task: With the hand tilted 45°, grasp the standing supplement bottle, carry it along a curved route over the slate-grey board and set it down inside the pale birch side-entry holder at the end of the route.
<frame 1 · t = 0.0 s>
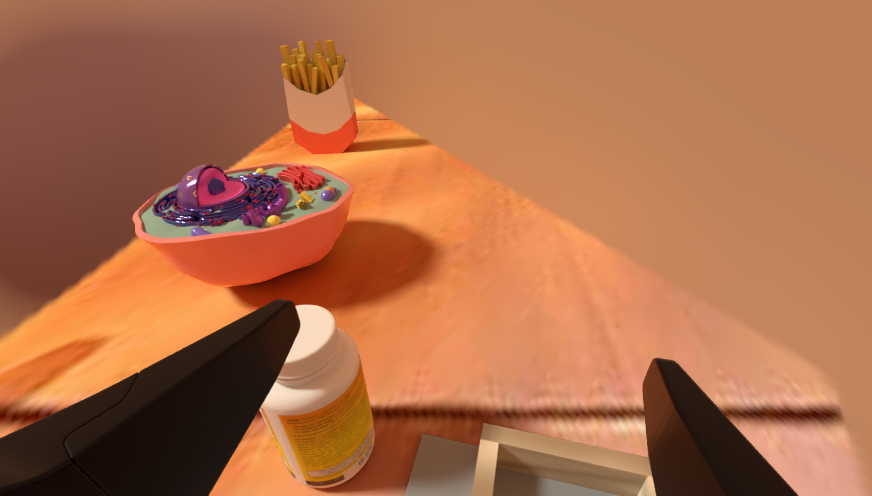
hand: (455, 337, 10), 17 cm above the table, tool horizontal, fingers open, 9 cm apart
cell model: (271, 265, 42), on the table
french fries container: (329, 150, 72), on the table
supplement bottle: (333, 447, 25), on the table
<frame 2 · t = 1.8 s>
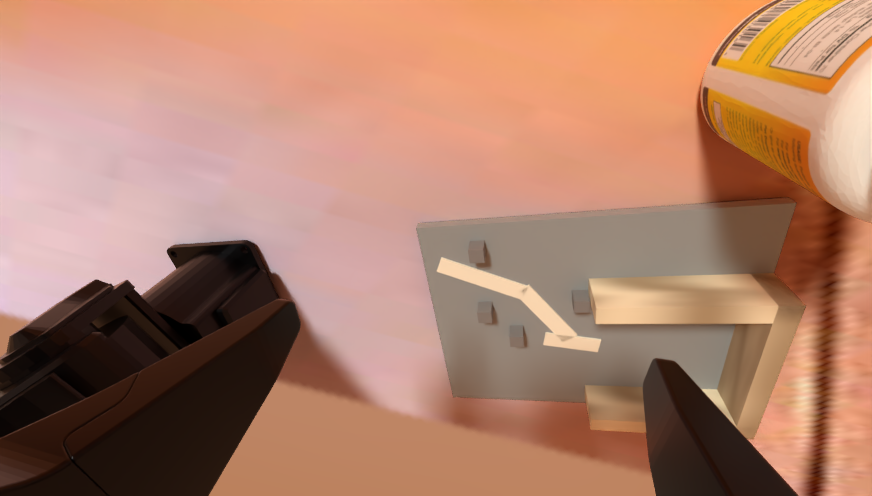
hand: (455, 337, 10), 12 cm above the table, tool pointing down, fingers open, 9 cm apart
end holder: (652, 336, 23), resting on route board
supplement bottle: (772, 71, 15), on the table
route board: (581, 317, 23), on the table
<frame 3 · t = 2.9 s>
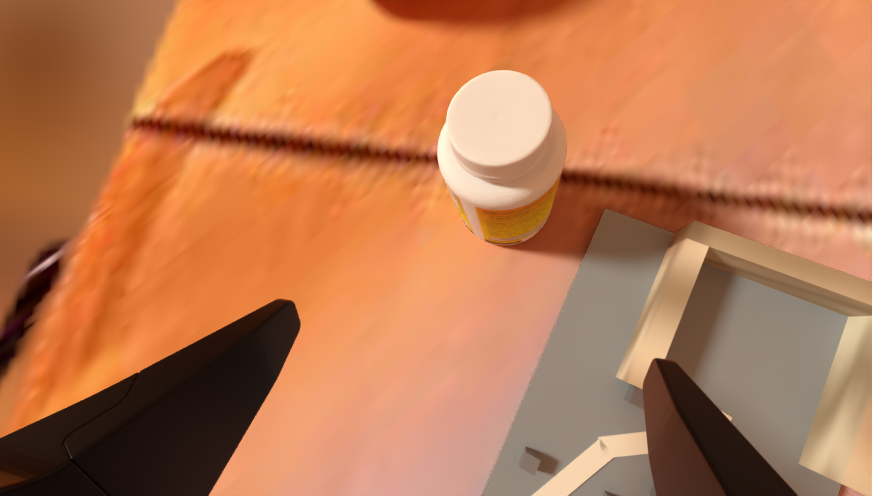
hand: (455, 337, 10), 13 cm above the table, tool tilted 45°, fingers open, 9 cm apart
end holder: (731, 351, 20), resting on route board
supplement bottle: (504, 205, 24), on the table
route board: (673, 410, 20), on the table
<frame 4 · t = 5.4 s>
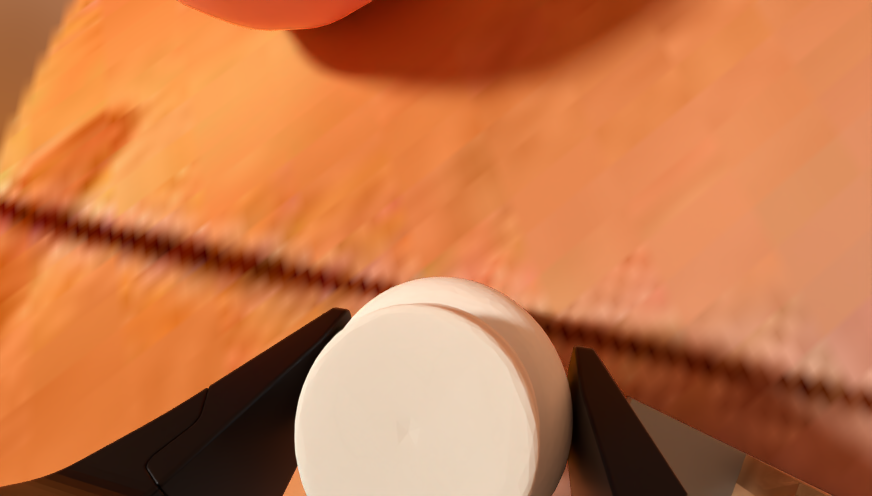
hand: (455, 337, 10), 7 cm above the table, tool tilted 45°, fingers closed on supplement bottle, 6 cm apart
supplement bottle: (475, 369, 16), on the table, touching gripper
when the fingers open (8 cm above the table, at t = 9.5 s): supplement bottle drops 1 cm, resting on route board.
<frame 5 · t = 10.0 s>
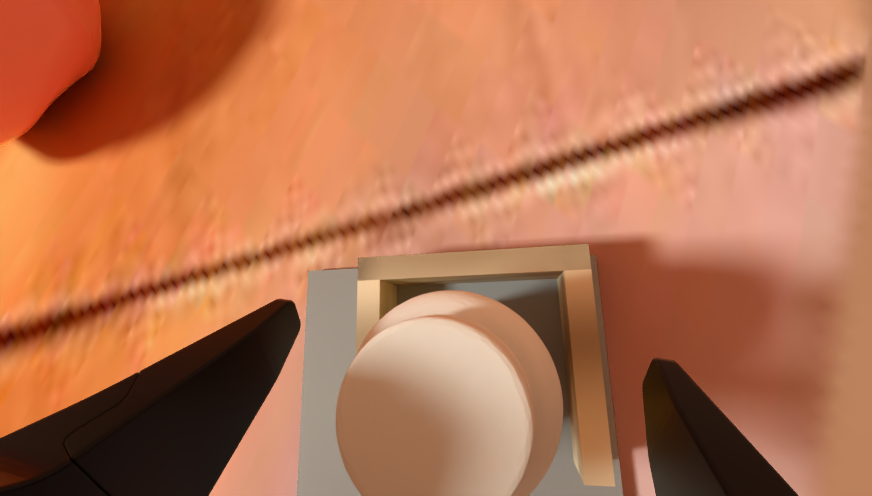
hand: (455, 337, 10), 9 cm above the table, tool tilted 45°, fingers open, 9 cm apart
cell model: (53, 80, 28), on the table
end holder: (478, 365, 18), resting on route board
supplement bottle: (478, 369, 17), resting on route board
route board: (449, 458, 17), on the table
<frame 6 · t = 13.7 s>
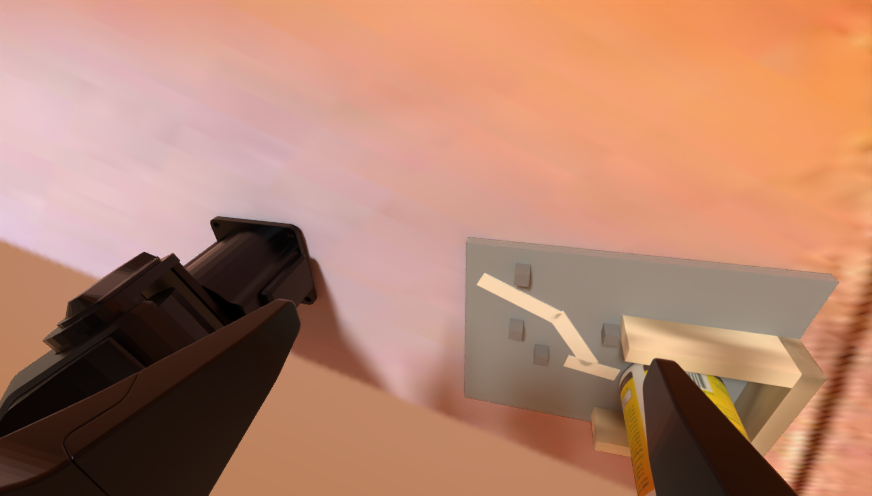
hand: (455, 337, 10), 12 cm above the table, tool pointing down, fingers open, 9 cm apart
end holder: (667, 373, 24), resting on route board
supplement bottle: (666, 378, 24), resting on route board
route board: (604, 346, 24), on the table
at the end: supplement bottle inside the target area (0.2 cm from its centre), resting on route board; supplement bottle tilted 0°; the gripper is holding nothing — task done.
